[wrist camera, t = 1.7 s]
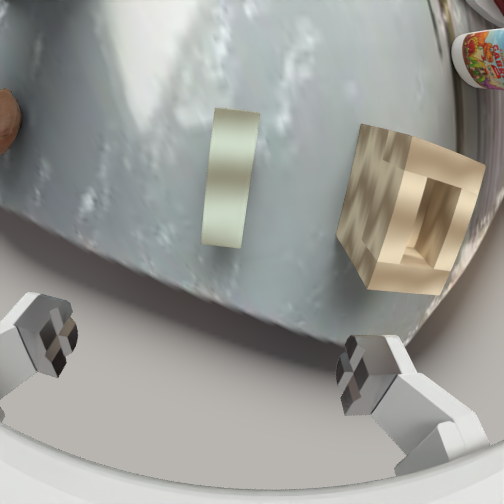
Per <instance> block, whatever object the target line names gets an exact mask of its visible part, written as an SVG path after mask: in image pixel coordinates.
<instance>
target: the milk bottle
mask: <svg viewBox="0 0 504 504" xmlns="http://www.w3.org/2000/svg"><path fill="white" fill-rule="evenodd" d="M451 55H452V60H453V64H454V66H455V69H456V71H457V73H458V74H459V75H460V77H461V78H462V79H463V80H464V81H465V82H466V83H468V84H469V85H471V86H473V87H476V88H485V89H496V90H504V28H501V29H492V30H484V31H478V32H472V33H466V34H462V35H459V36H458V37H457V38H456V39H455V40H454V42H453V44H452V48H451Z"/></svg>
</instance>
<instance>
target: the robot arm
mask: <svg viewBox="0 0 504 504" xmlns="http://www.w3.org/2000/svg"><path fill="white" fill-rule="evenodd" d="M71 314H72V308H71V304H70V303H69V302H68V301H66V300H62V299H59V298H54V297H51V296H47V295H43V294H39V293H35V292H27V293H26V294H25V295H24V296H23V297H22V298H21V299H20V300H19V301H18V302H17V304H16V305H15V306H14V307H13V308H12V309H11V310H10V311H9V313H8V314H7V315H6V316H5V317H4V318H3V320H2V321H0V399H1V398H3V397H4V396H5V395H7V394H8V393H10V392H11V391H12V390H14V389H15V388H16V387H18V386H19V385H20V384H22V383H23V382H24V381H26V380H27V379H29V378H30V377H31V376H33V375H34V374H35V373H36V371H37V372H41V373H43V374H46V375H50V376H53V377H56V378H58V377H59V375H60V374H61V372H62V370H63V368H64V366H65V365H66V363H67V362H66V357H65V356H67V355H69V354H70V353H72V352H73V350H74V348H75V347H76V343H77V339H78V330H77V326H76V323H75V322H74V321H73V319H72V318H71V317H70V316H71ZM345 348H346V352H345V353H343V354H342V355H341V356H340V357H339V360H338V362H337V366H336V381H337V386H338V387H339V388H341V390H343V391H344V392H343V394H342V396H341V402H342V406H343V410H344V414H345V416H347V415H370V414H371V417H372V418H373V419H374V420H375V421H376V422H377V423H378V424H379V426H380V427H382V429H383V430H384V431H385V432H386V433H387V434H388V436H389V437H390V438H391V439H392V440H393V441H394V442H395V443H396V444H397V445H398V446H399V448H400V449H401V450H402V451H403V452H404V453H405V454H406V455H407V456H406V457H405V458H404V459H403V460H402V461H401V462H399V463H398V464H397V466H396V467H395V468H394V469H395V474H396V476H395V477H391V478H386V479H381V480H375V481H370V482H364V483H357V484H350V485H343V486H334V487H323V488H310V489H289V490H255V489H234V488H221V487H210V486H201V485H193V484H186V483H180V482H174V481H168V480H163V479H158V478H153V477H147V476H143V475H139V474H135V473H131V472H127V471H123V470H119V469H116V468H112V467H109V466H105V465H102V464H99V463H96V462H92V461H89V460H86V459H83V458H81V457H78V456H75V455H72V454H70V453H67V452H64V451H62V450H59V449H56V448H54V447H52V446H50V445H47V444H45V443H42V442H40V441H38V440H36V439H34V438H31V437H29V436H27V435H25V434H23V433H21V432H19V431H17V430H15V429H13V428H11V427H9V426H7V425H6V424H4V423H2V421H3V419H4V417H5V414H4V411H3V410H2V409H1V407H0V504H504V440H503V441H500V442H498V443H496V444H494V445H491V446H490V443H489V442H488V439H487V437H486V435H485V432H484V430H483V428H482V426H481V424H480V422H479V420H478V418H477V416H476V414H475V413H474V412H473V411H472V410H470V409H469V408H468V407H466V406H465V405H464V404H462V403H461V402H460V401H458V400H457V399H456V398H454V397H453V396H452V395H450V394H449V393H448V392H446V391H445V390H444V389H442V388H441V387H439V386H438V385H437V384H436V383H434V382H433V381H432V380H430V379H429V378H427V377H426V376H425V375H423V374H422V373H417V371H416V369H415V368H414V365H413V363H412V361H411V359H410V357H409V355H408V353H407V351H406V349H405V347H404V346H403V344H402V342H401V340H400V338H399V337H398V336H397V335H381V336H379V335H350V336H349V338H348V339H347V341H346V343H345Z"/></svg>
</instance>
